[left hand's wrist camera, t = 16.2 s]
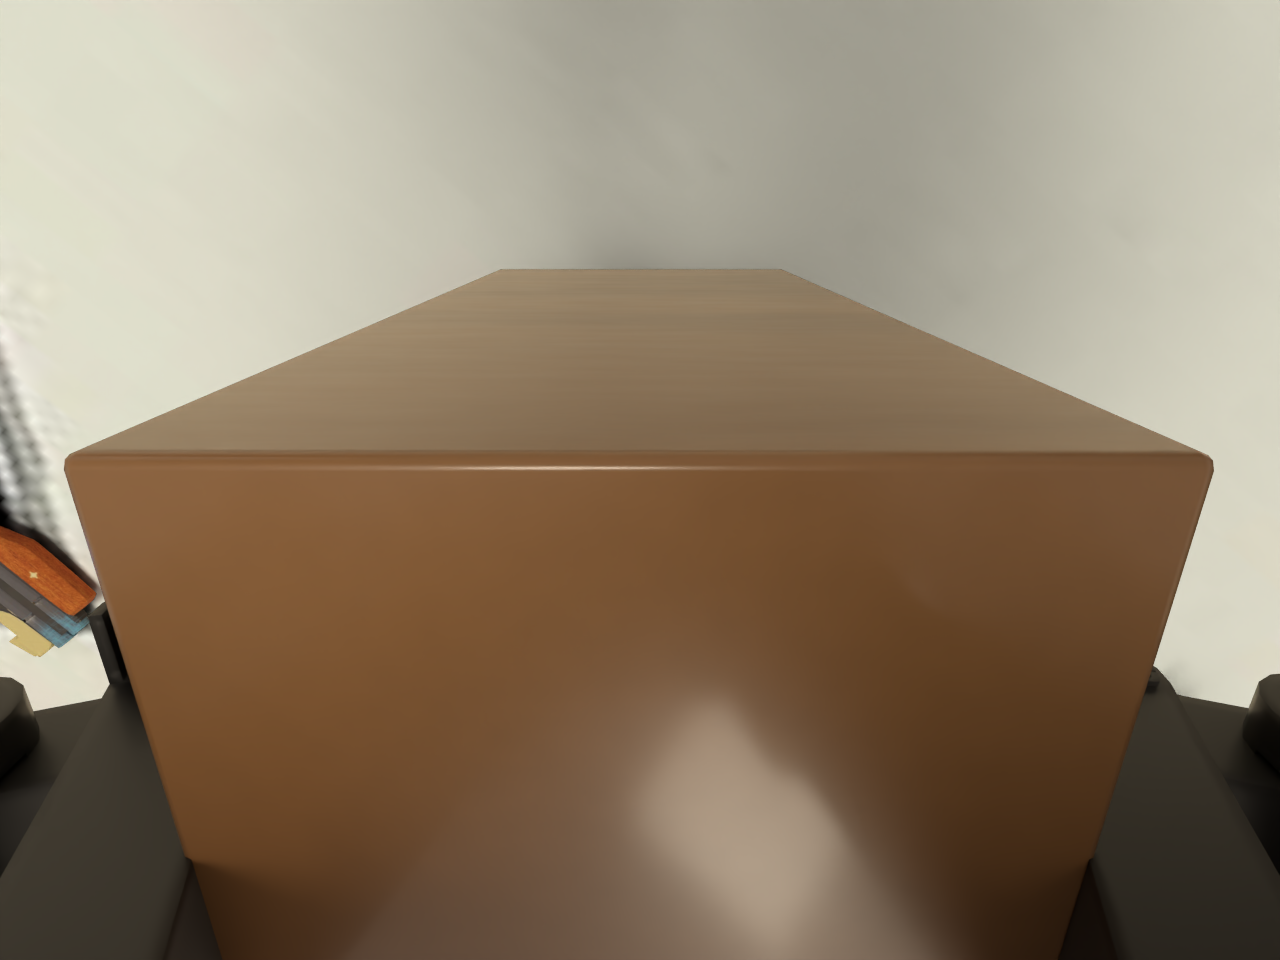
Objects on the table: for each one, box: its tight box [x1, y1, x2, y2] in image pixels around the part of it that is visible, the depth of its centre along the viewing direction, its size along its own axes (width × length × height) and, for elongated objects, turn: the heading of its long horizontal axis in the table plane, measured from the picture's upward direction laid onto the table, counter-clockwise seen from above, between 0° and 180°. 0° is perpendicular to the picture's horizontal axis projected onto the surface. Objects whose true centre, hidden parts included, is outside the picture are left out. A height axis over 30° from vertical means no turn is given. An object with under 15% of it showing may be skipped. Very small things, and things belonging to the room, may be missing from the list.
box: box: [64, 269, 1214, 960], centre depth 14 cm, size 25×6×13 cm, turn 0°
